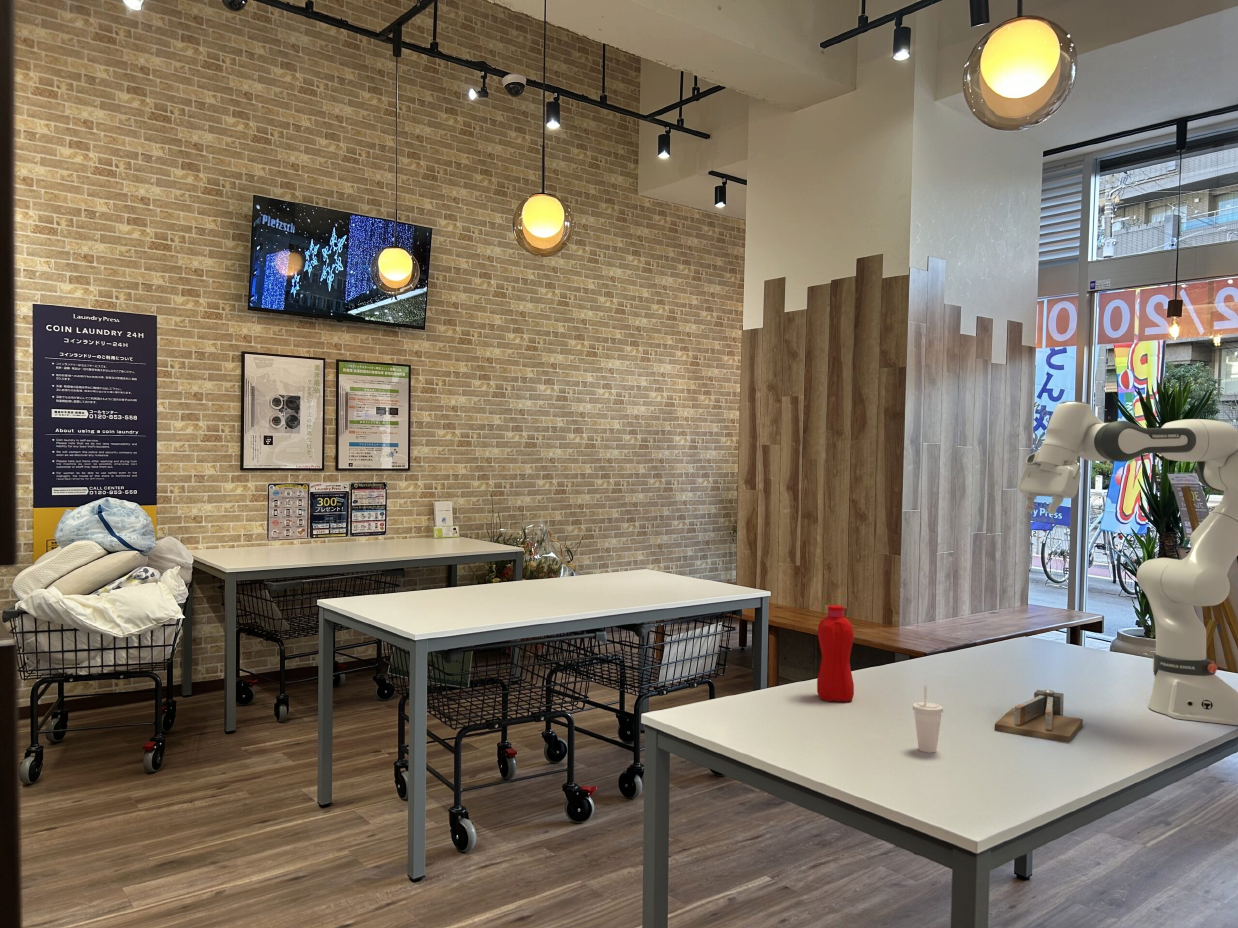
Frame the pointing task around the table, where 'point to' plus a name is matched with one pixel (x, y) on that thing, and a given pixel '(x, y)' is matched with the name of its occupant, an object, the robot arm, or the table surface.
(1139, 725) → the table surface
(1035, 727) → the walnut board
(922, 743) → the smoothie
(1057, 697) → the pivot block
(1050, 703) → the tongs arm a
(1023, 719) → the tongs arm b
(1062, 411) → the robot arm
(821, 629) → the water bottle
